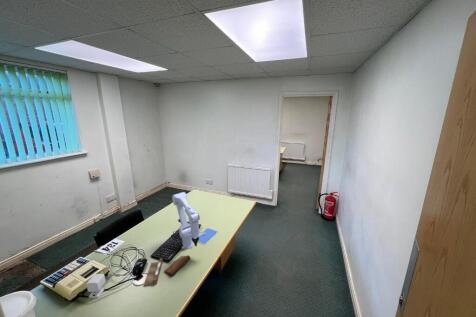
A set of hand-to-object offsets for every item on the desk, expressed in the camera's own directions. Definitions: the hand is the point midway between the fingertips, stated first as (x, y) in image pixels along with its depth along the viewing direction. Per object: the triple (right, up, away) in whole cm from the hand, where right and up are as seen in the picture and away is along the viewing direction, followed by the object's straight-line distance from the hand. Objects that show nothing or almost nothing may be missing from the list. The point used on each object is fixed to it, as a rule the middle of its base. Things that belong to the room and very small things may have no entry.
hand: (196, 245), depth 136 cm
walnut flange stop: (-26, -13, -12) cm, 31 cm away
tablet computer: (+3, -5, +25) cm, 26 cm away
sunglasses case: (-12, -12, -6) cm, 18 cm away
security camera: (-54, -17, -25) cm, 62 cm away
